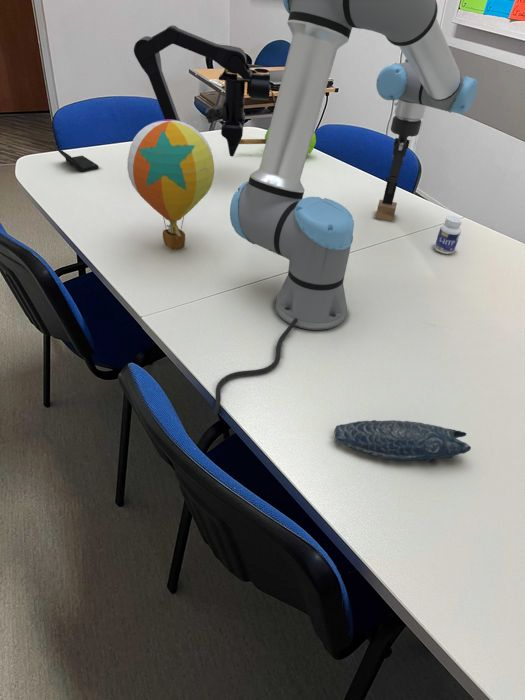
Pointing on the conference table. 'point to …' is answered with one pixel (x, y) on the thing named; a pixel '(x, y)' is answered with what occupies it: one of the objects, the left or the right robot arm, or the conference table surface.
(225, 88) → the left robot arm
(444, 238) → the pill bottle
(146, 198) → the toy
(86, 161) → the black flat handled piece
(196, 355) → the conference table surface
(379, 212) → the brown cardboard box
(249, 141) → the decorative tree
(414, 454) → the fish model
